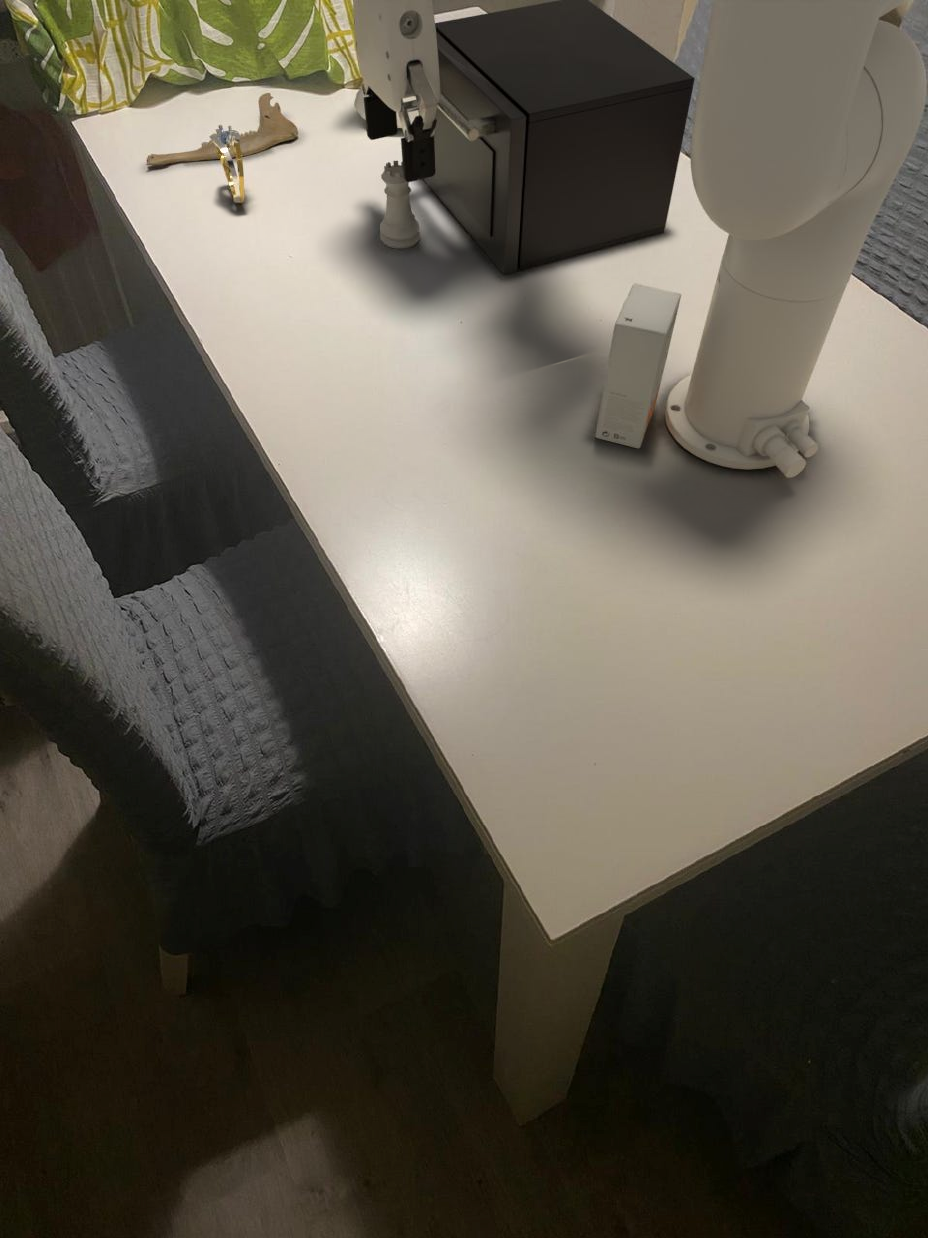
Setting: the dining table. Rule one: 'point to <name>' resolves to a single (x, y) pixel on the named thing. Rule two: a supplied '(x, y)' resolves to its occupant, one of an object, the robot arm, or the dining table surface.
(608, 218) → the oven
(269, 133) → the jawbone
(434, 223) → the dining table surface
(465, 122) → the oven door
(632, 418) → the cosmetic box
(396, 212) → the rook chess piece
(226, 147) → the ring
